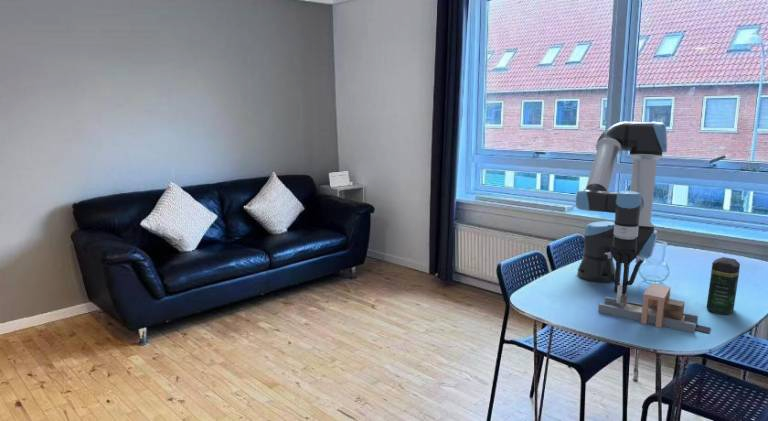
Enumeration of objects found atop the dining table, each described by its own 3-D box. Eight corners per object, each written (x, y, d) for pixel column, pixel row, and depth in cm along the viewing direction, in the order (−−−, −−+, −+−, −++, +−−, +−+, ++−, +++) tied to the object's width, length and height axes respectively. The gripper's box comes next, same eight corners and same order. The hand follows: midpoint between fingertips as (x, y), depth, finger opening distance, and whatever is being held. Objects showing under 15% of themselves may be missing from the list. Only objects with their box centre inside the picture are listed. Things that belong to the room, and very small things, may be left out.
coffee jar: (730, 317, 175) (737, 264, 172) (704, 311, 181) (710, 260, 177) (735, 308, 182) (742, 258, 179) (710, 303, 188) (716, 254, 184)
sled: (619, 311, 178) (620, 294, 177) (623, 306, 183) (624, 289, 182) (681, 325, 167) (683, 307, 166) (684, 319, 172) (686, 301, 170)
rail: (598, 311, 181) (598, 304, 180) (605, 303, 188) (605, 296, 187) (693, 332, 164) (694, 324, 163) (697, 323, 171) (698, 315, 170)
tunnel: (640, 323, 171) (643, 294, 169) (648, 311, 181) (651, 283, 179) (660, 327, 168) (664, 297, 166) (667, 315, 178) (670, 287, 175)
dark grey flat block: (694, 330, 166) (694, 329, 165) (696, 325, 169) (696, 324, 169) (709, 333, 163) (709, 332, 163) (710, 328, 167) (710, 327, 167)
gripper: (602, 236, 177) (597, 301, 181) (643, 242, 169) (637, 309, 174) (608, 231, 182) (603, 295, 187) (648, 237, 175) (642, 303, 179)
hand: (619, 302), depth 180 cm, fingers closed
